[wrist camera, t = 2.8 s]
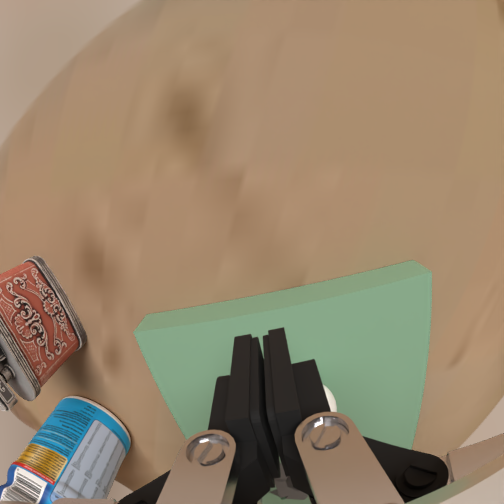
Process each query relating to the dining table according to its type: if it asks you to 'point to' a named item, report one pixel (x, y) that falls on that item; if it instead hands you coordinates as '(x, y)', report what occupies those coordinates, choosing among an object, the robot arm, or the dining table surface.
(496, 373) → the dining table surface
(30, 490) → the beverage bottle
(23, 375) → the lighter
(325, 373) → the green board
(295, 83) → the dining table surface
